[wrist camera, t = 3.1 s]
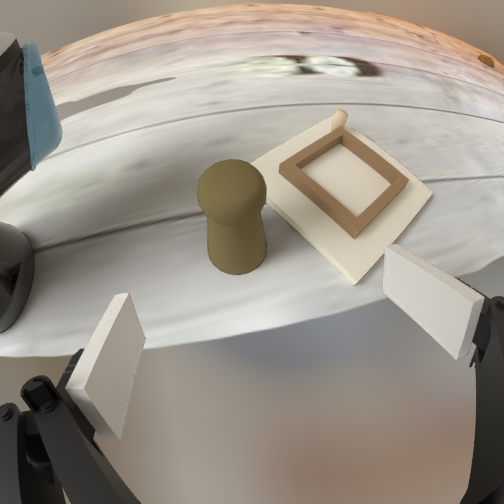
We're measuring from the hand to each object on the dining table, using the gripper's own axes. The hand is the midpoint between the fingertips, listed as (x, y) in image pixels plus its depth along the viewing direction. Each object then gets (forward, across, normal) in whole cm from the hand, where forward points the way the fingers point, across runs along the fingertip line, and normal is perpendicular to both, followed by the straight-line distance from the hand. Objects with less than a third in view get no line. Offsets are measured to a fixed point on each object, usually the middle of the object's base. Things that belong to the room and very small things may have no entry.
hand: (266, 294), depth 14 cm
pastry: (+65, +117, +46) cm, 141 cm away
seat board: (+20, +14, +1) cm, 24 cm away
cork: (+16, 0, -3) cm, 16 cm away
